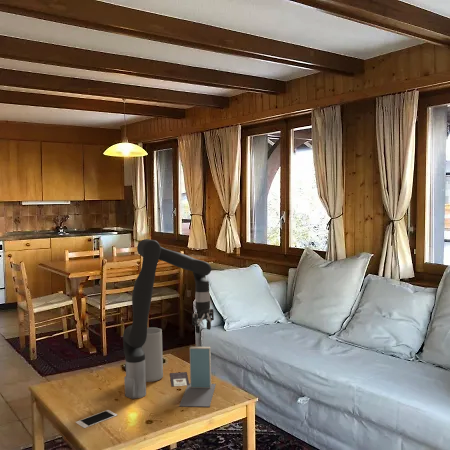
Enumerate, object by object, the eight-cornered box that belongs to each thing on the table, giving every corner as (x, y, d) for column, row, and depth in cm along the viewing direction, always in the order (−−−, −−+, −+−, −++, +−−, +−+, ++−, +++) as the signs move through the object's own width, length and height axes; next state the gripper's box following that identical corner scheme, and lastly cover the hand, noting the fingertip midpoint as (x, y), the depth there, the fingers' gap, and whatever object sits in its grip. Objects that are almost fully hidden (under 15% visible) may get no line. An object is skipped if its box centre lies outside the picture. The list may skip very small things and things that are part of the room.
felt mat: (209, 407, 223) (209, 406, 223) (179, 406, 225) (179, 405, 225) (215, 384, 249) (215, 383, 249) (188, 384, 250) (188, 383, 250)
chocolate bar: (186, 371, 266) (189, 385, 248) (186, 373, 266) (189, 386, 248) (169, 373, 265) (171, 386, 247) (169, 374, 265) (171, 388, 247)
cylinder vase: (143, 373, 267) (141, 327, 265) (165, 373, 265) (164, 327, 264) (135, 381, 255) (134, 334, 253) (159, 382, 253) (158, 334, 251)
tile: (191, 385, 247) (190, 346, 246) (211, 386, 246) (210, 346, 245) (190, 387, 245) (189, 348, 243) (210, 388, 244) (209, 348, 242)
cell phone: (75, 423, 211) (75, 421, 211) (108, 410, 223) (108, 409, 222) (84, 429, 206) (84, 427, 206) (117, 416, 217) (117, 414, 217)
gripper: (206, 296, 263) (207, 326, 264) (187, 301, 252) (188, 333, 253) (217, 298, 258) (217, 329, 259) (198, 303, 247) (199, 335, 249)
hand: (203, 331), depth 256 cm, fingers open, 7 cm apart
